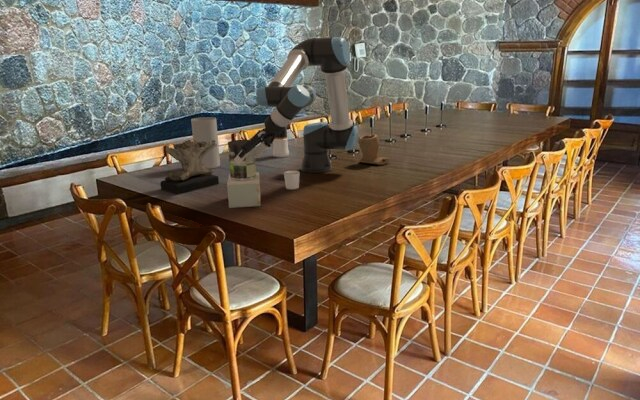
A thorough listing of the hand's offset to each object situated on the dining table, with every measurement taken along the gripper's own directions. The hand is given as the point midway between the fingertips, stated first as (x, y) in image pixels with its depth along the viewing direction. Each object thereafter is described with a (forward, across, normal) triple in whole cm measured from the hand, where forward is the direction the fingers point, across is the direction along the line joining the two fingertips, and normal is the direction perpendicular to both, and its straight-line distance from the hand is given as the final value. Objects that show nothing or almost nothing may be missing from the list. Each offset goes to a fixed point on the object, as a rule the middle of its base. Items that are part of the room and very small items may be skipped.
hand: (246, 158), depth 195 cm
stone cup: (-5, +80, -30) cm, 86 cm away
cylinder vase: (+51, +48, +26) cm, 75 cm away
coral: (+37, +12, +12) cm, 41 cm away
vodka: (+34, +84, +9) cm, 91 cm away
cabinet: (+14, 0, -11) cm, 18 cm away
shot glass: (+8, +25, -17) cm, 32 cm away
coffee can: (+7, 0, -4) cm, 8 cm away
